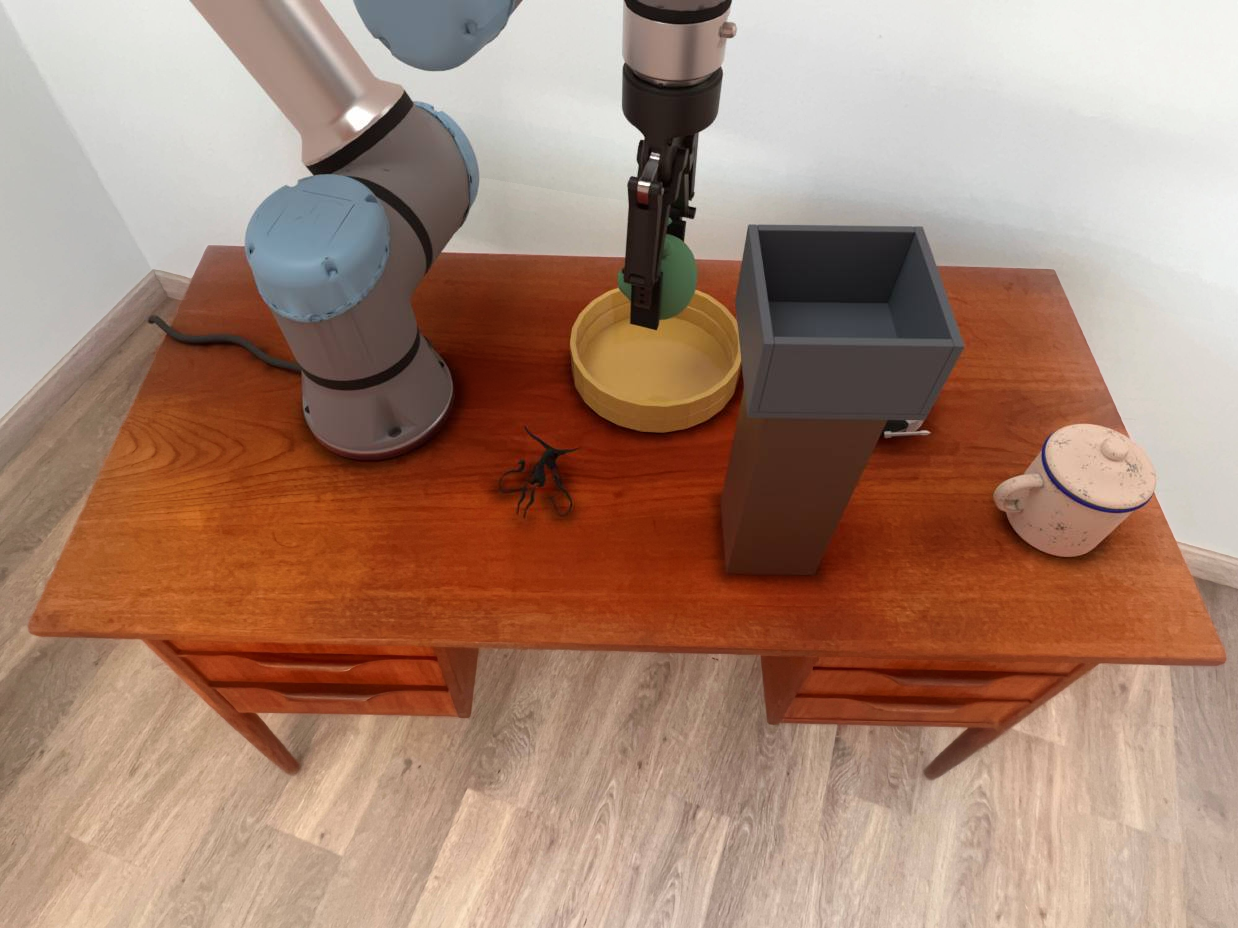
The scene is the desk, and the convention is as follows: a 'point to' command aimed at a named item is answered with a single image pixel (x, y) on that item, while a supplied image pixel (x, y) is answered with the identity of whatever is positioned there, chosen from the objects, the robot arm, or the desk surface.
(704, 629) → the desk surface
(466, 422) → the desk surface
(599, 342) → the bowl
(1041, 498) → the teacup with lid
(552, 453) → the creature
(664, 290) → the alien toy
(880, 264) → the bin
